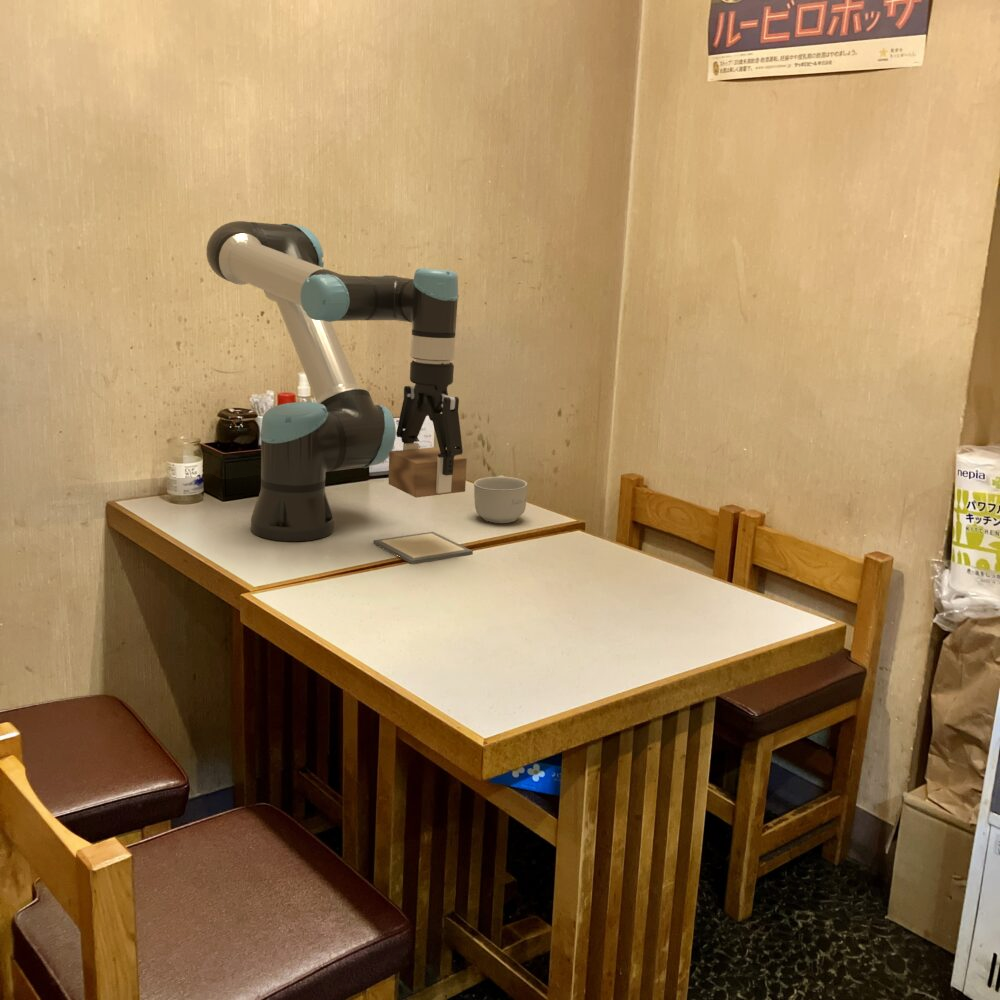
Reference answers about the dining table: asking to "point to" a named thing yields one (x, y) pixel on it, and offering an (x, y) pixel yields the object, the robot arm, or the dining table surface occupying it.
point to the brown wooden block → (422, 471)
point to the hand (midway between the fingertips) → (426, 485)
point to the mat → (422, 547)
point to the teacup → (500, 498)
